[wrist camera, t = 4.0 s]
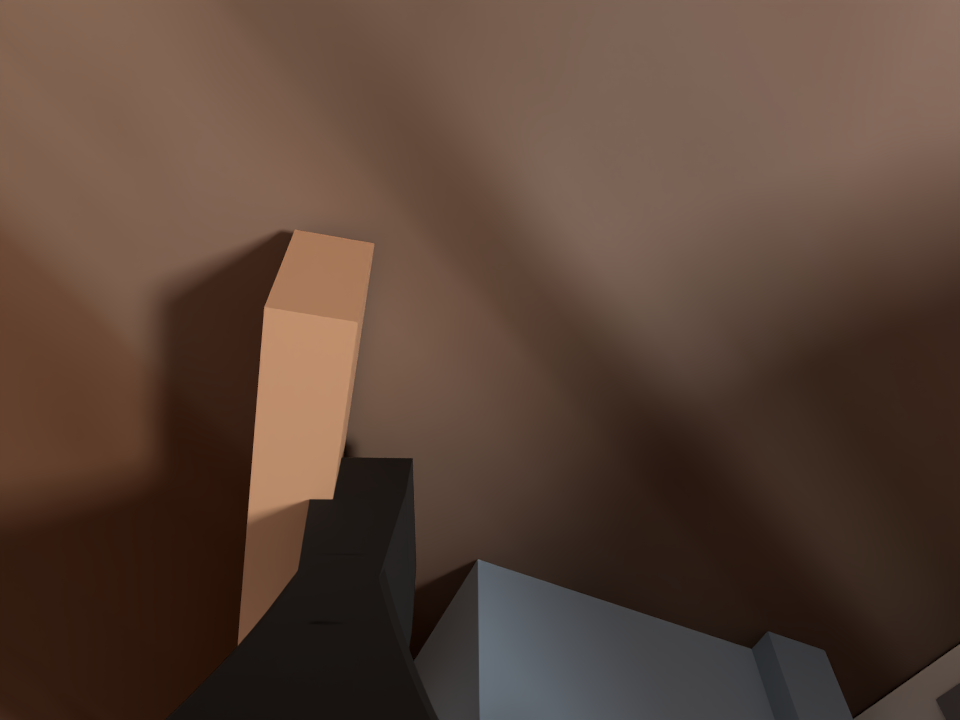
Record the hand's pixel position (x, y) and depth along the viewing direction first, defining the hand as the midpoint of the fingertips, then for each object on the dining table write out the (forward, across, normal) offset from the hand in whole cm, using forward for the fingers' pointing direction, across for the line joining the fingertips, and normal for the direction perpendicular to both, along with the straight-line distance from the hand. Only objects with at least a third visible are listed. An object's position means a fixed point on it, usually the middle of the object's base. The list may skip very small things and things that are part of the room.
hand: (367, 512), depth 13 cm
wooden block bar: (+1, +1, +2) cm, 2 cm away
